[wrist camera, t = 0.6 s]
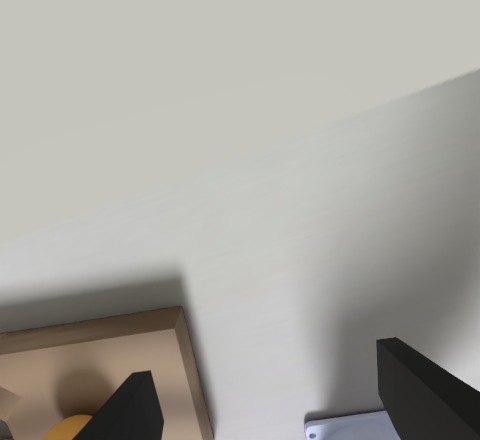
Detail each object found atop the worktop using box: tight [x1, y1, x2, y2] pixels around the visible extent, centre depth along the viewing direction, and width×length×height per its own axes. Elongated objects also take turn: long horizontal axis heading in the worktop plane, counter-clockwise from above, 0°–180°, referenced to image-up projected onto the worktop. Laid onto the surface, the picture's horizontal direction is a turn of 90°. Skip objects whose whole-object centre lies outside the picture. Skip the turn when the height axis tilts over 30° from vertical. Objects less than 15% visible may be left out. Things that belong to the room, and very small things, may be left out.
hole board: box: [0, 306, 214, 440], centre depth 21 cm, size 12×20×2 cm, turn 99°
